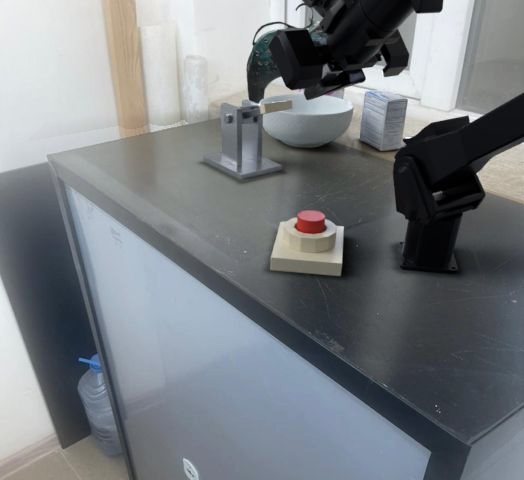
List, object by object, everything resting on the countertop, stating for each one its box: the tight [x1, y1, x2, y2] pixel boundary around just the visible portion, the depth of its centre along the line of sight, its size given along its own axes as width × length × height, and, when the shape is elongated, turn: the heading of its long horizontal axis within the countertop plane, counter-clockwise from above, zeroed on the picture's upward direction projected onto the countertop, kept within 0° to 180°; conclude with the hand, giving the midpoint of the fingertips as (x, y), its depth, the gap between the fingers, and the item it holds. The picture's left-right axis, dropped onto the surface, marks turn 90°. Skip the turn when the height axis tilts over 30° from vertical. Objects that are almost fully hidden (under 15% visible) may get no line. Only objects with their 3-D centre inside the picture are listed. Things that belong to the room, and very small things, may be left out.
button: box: [297, 209, 326, 234], centre depth 64 cm, size 3×3×2 cm
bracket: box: [202, 99, 283, 180], centre depth 88 cm, size 11×8×10 cm
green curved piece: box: [245, 2, 328, 104], centre depth 118 cm, size 20×6×20 cm, turn 94°
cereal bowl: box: [259, 93, 355, 148], centre depth 100 cm, size 17×17×7 cm
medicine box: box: [358, 89, 409, 152], centre depth 100 cm, size 8×4×9 cm, turn 22°
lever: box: [240, 100, 293, 125], centre depth 82 cm, size 11×5×2 cm, turn 38°
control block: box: [269, 216, 345, 277], centre depth 65 cm, size 10×8×4 cm
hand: (307, 96), depth 73 cm, fingers closed
